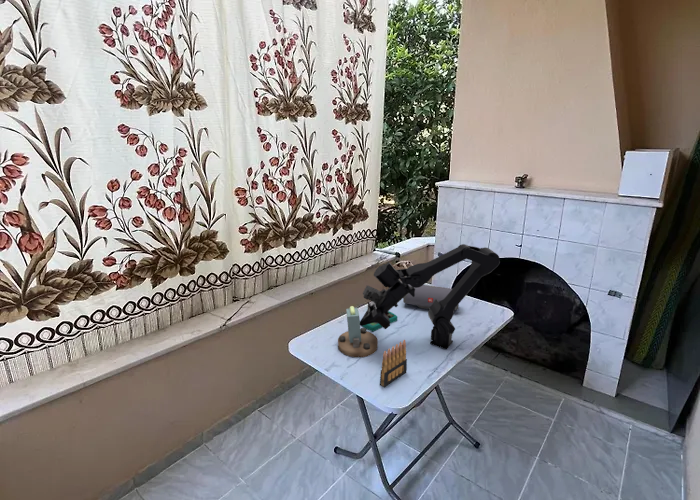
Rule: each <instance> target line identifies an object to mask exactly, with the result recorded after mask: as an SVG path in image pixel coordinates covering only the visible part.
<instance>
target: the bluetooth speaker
mask: <svg viewBox="0 0 700 500" xmlns="http://www.w3.org/2000/svg"><path fill="white" fill-rule="evenodd" d="M408 285H409V284H408ZM409 286H411V285H409ZM411 287H412V286H411ZM414 288H415V287H414ZM452 289H453V288H450V287H445V286H435V285H429V284H427V285H426V284H424V285H422V286H421V287H418V288H415V296H414V297H413V296H412V295H411V294H410V293H409V294H407V295H406V296H405V297H404V298H403V299H402V300H403V303H404V304H407V305H411V306H412V305H413V306H417V307H418V308H420V309H426V310H429V307H430V306H431V305H432V304H433V303H434V301H435V300H436V299H437V300H438V301H441V300H443V299H445V297H446V296H447V295H448V294H449V293H450V291H451V290H452ZM459 304H460V303H459ZM459 304H458V305H457V307H456V308H455V310H454V311H458V310H459Z"/></svg>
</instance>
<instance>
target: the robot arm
mask: <svg viewBox="0 0 700 500" xmlns="http://www.w3.org/2000/svg"><path fill="white" fill-rule="evenodd" d="M500 259H501V258H500V256H499V254H498V253H496V252H495V251H494V250H492V249H491V248H489V247H485V246H484V247H477V246H473V245H468V244H464V243H463V244H460V245H458V246H457V247H455V248H453V249H451V250H449V251H448V252H445V253H443V254H442V255H440V256H437V257H436V258H434V259H431V260H430V261H427V262H422V263H417V264H413V265H410V266H408V267H407V268H402V269H401V268H400V269H395V267H393V265H392V263H391V262H390V261H388V262H386V263H384V264H381V265H379V266H378V267H377V268H376V269H375V270H374V272H373V277H375V279H376V280H378V282H380V283H381V285H382V286H383V287H384V288H383V289H382V290H378V289H377V288H374V287H372V286H370V285H366V286H365V288H364V290H363V292H362V295H363V298H364V299H366V301H367V300H368V301H367V309H366V311H365V313H364V314H363V316H362V318H361V319H360V327H362V326H363V325H367V324H370V323H375V322H378V323H379V324H380V325H381V326H382V328H383V329H384V330H387V329H388V328H389V327H390V326H391V323H390V320H389V318H388V316H387V315H388V314H389V312H388V311H391V309H392V308H394V307H395V308H397V307H399V304H398V303H400V302H401V301H402V300H403V298H404V297H405V296H406V295H407V294H409V293H410V294H411V295H412V296H413V297H414V296H415V288H418V287H421V286H422V285H426V284H427V283H428V282H429V281H430V280H431V279H432V278H433V277H434V276H435V275H436V274H439V273H441V272H442V271H444V270H446V269H448V268H451V267H452V266H454V265H457V264H458V263H460V262H463V261H465V260H469V261H471V264H470V265H469V266H470V267H469V268H468V269H467V271H466V272H465V273H464V274H463V275H462V277H461V278H460V279H459V281H458V282H457V283H456V284H455V285H454V286H453V288H451V289H452V290H451V291H450V293H449V294H448V295H447V296H446V297H445V299H443V300H441V301H438V300H437V299H436V300H435V301H434V303H433V304H432V305H431V306H430V307H429V309H428V310H427V314H428V315H427V316H428V318H429V319H430V322H431V323H432V325H433V326H432V329H431V331H430V332H431V333H430V341H429V344H430V345H431V346H435V347H438V348H440V349H444V350H448V349H449V348H450V347H451V345H453V343H454V340H453V334H454V333H455V330H456V327H455V326H454V325H453V322H452V321H451V320H453V319H452V318H453V316H454V312H455V311H456V310H455V308H456V307H457V305H458V304H460V303H461V302H462V301H463V300H464V298H465V297H466V296H467V295H468V293H469V292H470V291H472V289H473V288H474V287H475V285H476V284H477V283H478V282H479V281H480V280H481V278H482V277H484V276H487V275H489V274H490V273H492V272H493V271H494V270H495V269H496V268H497V267H498V266H499V265H500V263H501V261H500ZM408 284H409V285H411V286H412V287H411V286H409V285H408ZM414 287H415V288H414ZM386 288H387V289H386ZM369 301H370V302H369ZM384 313H385V314H384Z"/></svg>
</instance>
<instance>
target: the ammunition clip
mask: <svg viewBox="0 0 700 500" xmlns="http://www.w3.org/2000/svg"><path fill="white" fill-rule="evenodd" d="M406 344H407V343H406V340H405V339H403V341H400V342H399V343H396V344H395V346H394V345H393V346H392V347H391V348H390V347H389V348H388V349H387V351H386V350H384V351H383V356H382V362H381V369H380V374H379V375H380V377H379V386H381V387H382V388H385V389H386V388H387V387H388V386H390V385H391V384H392V383H394V382H395V381H397V380H398V379H400V378H401V377H404V375H406V374H407V371H408V370H407V366H408V364H407V363H408V359H407V345H406Z"/></svg>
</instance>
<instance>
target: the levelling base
mask: <svg viewBox="0 0 700 500" xmlns="http://www.w3.org/2000/svg"><path fill="white" fill-rule="evenodd" d="M360 330H361V342H359V338H353V343H350V340H349V333H348V330H347V331H345V332H342V333H341V334H340V335H339V337H338V338H337V348H338V350H339V352H340V353H342V354H343V355H345V356H346V357H351V358H359V359H361V358H366V357H370V356H372V355H374V354H376V352H377V351H378V348H379V339H378V337H377V336H376V334H374V333H372V331H369V330H368V331H367V329H366V328H364V327H360Z"/></svg>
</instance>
